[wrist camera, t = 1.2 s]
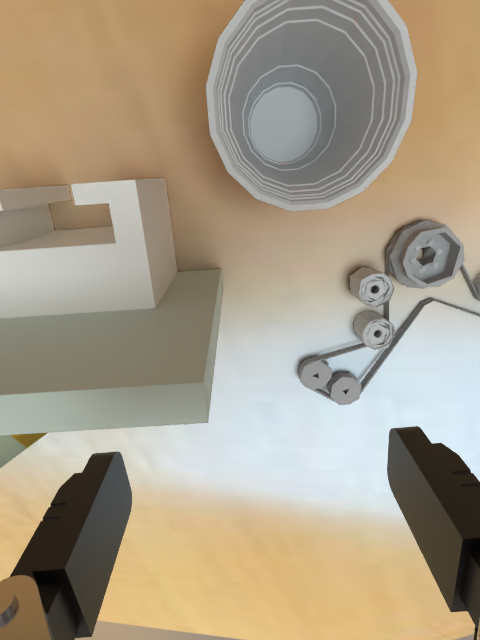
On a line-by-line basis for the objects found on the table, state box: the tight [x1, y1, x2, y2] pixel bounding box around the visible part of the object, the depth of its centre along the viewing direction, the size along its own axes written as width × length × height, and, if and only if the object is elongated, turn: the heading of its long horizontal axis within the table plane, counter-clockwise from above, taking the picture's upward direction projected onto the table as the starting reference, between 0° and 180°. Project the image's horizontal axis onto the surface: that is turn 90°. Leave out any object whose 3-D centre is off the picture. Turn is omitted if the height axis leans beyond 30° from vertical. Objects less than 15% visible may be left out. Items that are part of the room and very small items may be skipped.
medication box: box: [0, 433, 47, 468], centre depth 38 cm, size 12×3×4 cm, turn 128°
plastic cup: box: [206, 0, 417, 211], centre depth 24 cm, size 11×11×12 cm
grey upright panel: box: [0, 178, 223, 435], centre depth 24 cm, size 10×20×20 cm, turn 94°
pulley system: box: [298, 220, 480, 405], centre depth 34 cm, size 27×5×15 cm
